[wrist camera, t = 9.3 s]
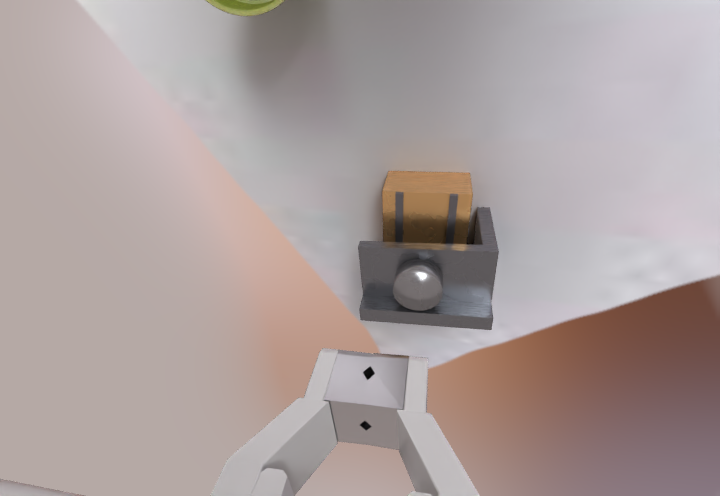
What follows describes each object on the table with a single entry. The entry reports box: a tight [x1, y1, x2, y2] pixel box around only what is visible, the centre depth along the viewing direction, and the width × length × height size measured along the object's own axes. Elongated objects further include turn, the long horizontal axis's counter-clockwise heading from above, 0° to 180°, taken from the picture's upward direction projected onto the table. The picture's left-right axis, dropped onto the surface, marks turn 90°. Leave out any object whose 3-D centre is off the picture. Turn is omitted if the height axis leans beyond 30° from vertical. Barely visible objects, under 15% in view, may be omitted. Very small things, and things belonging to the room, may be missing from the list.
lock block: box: [382, 171, 473, 244], centre depth 38 cm, size 9×8×5 cm
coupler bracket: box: [358, 208, 498, 330], centre depth 38 cm, size 7×12×10 cm, turn 95°
